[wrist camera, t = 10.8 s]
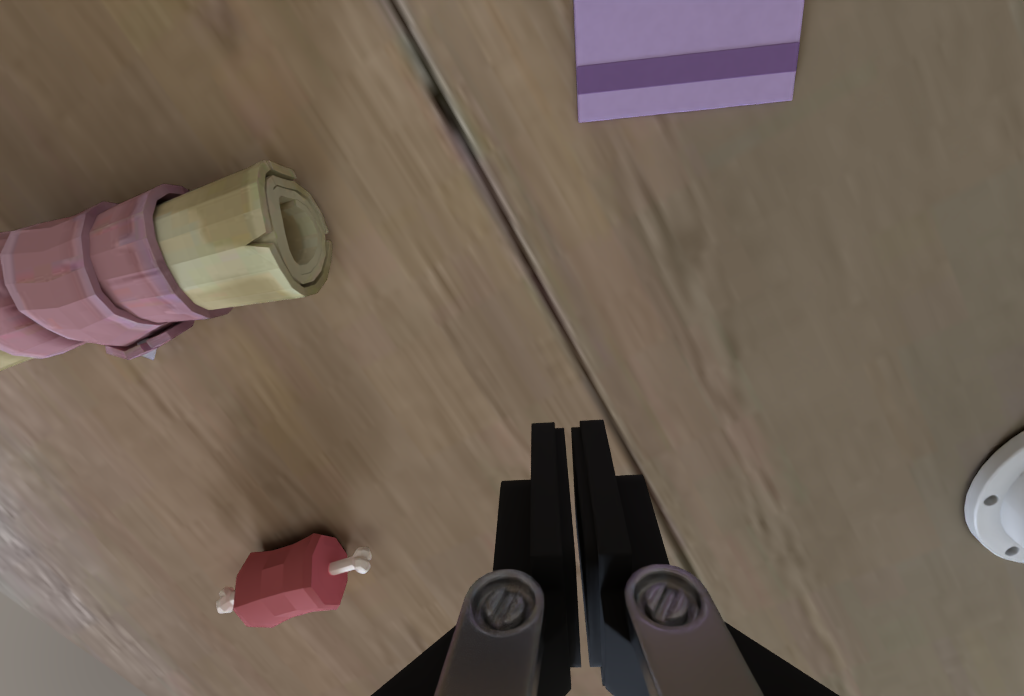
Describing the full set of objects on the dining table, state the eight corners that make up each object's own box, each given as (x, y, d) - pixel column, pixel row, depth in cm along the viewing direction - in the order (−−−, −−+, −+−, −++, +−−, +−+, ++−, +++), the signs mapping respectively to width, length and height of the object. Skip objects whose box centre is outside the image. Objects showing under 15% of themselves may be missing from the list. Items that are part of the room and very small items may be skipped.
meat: (354, 508, 35) (343, 579, 32) (391, 540, 38) (385, 608, 35) (206, 554, 37) (180, 626, 34) (253, 581, 40) (233, 650, 37)
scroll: (34, 391, 30) (358, 323, 28) (-138, 409, 23) (284, 318, 21) (8, 263, 30) (330, 185, 28) (-173, 238, 23) (247, 131, 21)
